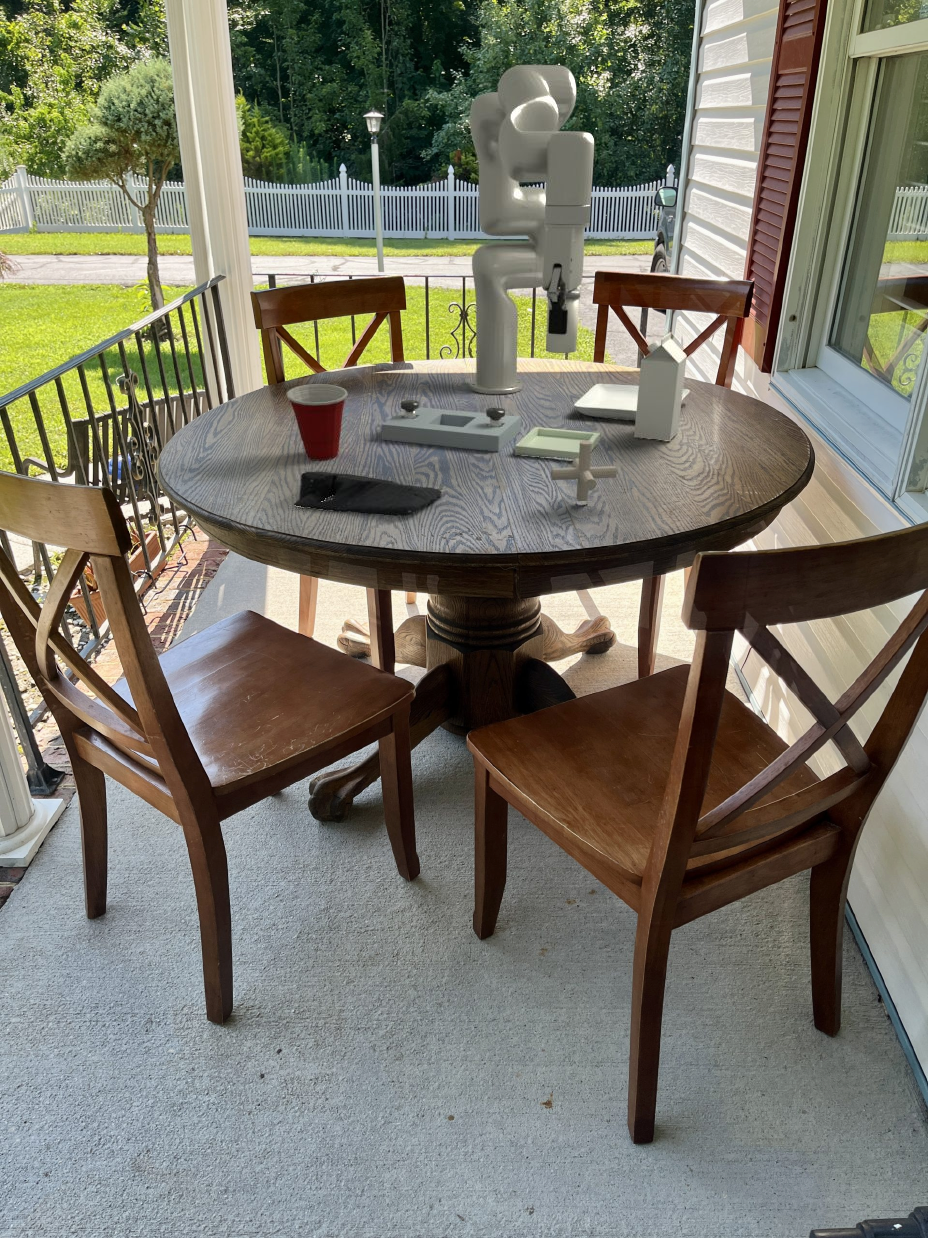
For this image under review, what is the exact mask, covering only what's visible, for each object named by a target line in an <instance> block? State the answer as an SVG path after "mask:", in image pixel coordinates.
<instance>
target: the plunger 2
mask: <svg viewBox="0 0 928 1238" xmlns="http://www.w3.org/2000/svg"><path fill="white" fill-rule="evenodd" d="M485 411H486V412H485V413H486V416H487V417H490V426H491V427H501V417H504V416H505V415H506V409H505V408H502V407H490V408H487V409H486V410H485Z"/></svg>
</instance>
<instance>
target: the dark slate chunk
mask: <svg viewBox="0 0 928 1238" xmlns="http://www.w3.org/2000/svg"><path fill="white" fill-rule="evenodd" d="M442 493H443V491H441V490H440V489H438V488H434V487H427V486H426V487H425V486H418V485H410V484H403V483H399V482H398V483H397V482H394V481H392V480H388V479H387V480H386V479H382V478H377V477H376V478H374V477H369V476H363V475H358V474H351V473H341V472H340V473H337V472H329V471H319V470H316V471H315V470H314V471H305V472H303V473H301V475H300V489H299V499H298V500H296V501H295V502H296V503H295V502H294V503H293V504H294V505H296V506H301V507H310V508H309V509H312V508H316V509H315V510H317V509H323V510H322V511H324V510H333V511H332V512H334V511H341V512H342V513H358V514H367V515H379V516H380V515H381V516H386V515H388V516H394V517H395V516H396V517H397V516H408V515H412V514H414V513H415V512H416V511H418V510H419V511H420V510H421V509H423V508H424V507H426V506H427V505H429V504H432V503H434V502H435V501H437V500H439V499H440V498H441V496H442ZM332 495H334V496H332ZM330 496H331V497H333V498H332V499H329V498H328V497H330ZM331 497H330V498H331ZM325 498H328V500H326V501H324V500H325ZM438 498H439V499H438ZM321 501H323V502H321ZM294 505H293V506H294ZM296 506H295V507H296ZM349 511H350V512H349ZM341 512H340V513H341Z"/></svg>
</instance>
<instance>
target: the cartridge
mask: <svg viewBox="0 0 928 1238" xmlns="http://www.w3.org/2000/svg"><path fill="white" fill-rule="evenodd" d="M559 290H565V289H562V288H559ZM581 292H582V291H581V290H580V289H578V288H577V289H573V290H571V291H569V292H568V297H567V305H566V310H568V320H567V333H566V334H565V335H562V334H550V333H549V332H548V325H549V303H550V300H549V298H550V295H549V290H548V291H546V298H547V306H546V307H547V310H546V338H545V351H546V352H548V353H554V354H570V353H574V352H576V351H577V342H578V340H577V339H578V325H579V306H580V305H579V304H580V298H581ZM559 295H560V294H559ZM561 297H562V300H563V295H561Z"/></svg>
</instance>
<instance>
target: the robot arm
mask: <svg viewBox="0 0 928 1238" xmlns="http://www.w3.org/2000/svg"><path fill="white" fill-rule="evenodd" d="M576 100H577V84H576V80H575V77H574V75H573V73H572V71H571V70H570V69H569V68H568V67H566V66H564V65H560V64H559V65H557V64H555V65H554V64H551V65H550V64H546V65H545V64H521V65H520V64H519V65H516V66H511V67H510V68H508V69H507V70H506V71H504V73H503V74H502V75H501V77H500V79H499V82H498V84H497V91H495V92H494V91H493V92H492V91H491V92H486V93H483V94H479V95H477V96H476V97H475V98H474V99H473V101H472V103H471V106H470V111H469V127H470V134H471V138H472V141H473V146H474V150H475V153H476V156H477V161H478V219H479V220H478V221H479V222H478V223H479V226H480V229H481V231H482V232H483V234H484V235H487V236H491V237H520V236H521V237H528V242H526V241H525V242H511V241H510V242H492V243H491V242H490V243H487V244H486V243H485V244H483V245H481V246H479V247H478V248H476V250H475V251H474V252H473V255H472V258H471V268H472V271H471V272H472V277H473V284H474V293H475V316H476V318H475V319H476V322H475V330H476V331H475V342H476V343H475V348H476V350H475V351H476V353H475V355H476V360H475V361H476V363H475V364H476V365H475V366H476V368H475V369H476V373H475V374H476V377H475V378H476V379H474V380H472V381H470V382H469V389H470V390H471V391H473V392H475V393H479V394H486V395H505V394H506V395H507V394H513V393H517V392H519V391H521V390H523V388H524V383H523V381H521V380H519V379H517V375H518V374H517V371H518V366H517V363H518V362H517V361H518V329H519V327H518V326H519V325H518V324H519V323H518V322H519V320H518V319H519V313H518V311H519V310H518V307H517V305H516V303H515V302H514V300H513V299H512V298H511V296H510V295H509V294H508V291H509V290H517V289H518V290H520V289H538V288H541V289H542V290H543V291H544V292H547V291H548V290H549V295H550V298H549V300H550V303H549V325H548V332H549V333H550V334H562V335H565V334H566V333H567V320H568V310H566V305H567V297H568V292H569V291H571V290H573V289H578V287H579V286H580V285H581V284H582V281H583V273H584V255H585V254H584V253H585V251H584V249H585V228H589V227H590V225H591V209H592V208H591V204H592V192H593V191H592V188H593V186H592V185H593V173H594V171H593V168H594V158H595V157H594V156H595V154H594V153H595V139H594V137H593V135H592V134H591V133H589V132H587V131H571V130H570V131H569V130H568V131H567V130H566V131H564V130H563V131H562V130H561V128H562V127H563V125H565V123H566V122H567V120H568V119H569V118H570V116H571V115H572V113H573V110H574V108H575V105H576ZM560 130H561V131H560ZM520 183H545V188H542V187H539V186H538V187H537V186H520ZM559 288H562V289H565V290H559ZM559 294H560V295H559ZM561 295H563V300H562V297H561Z"/></svg>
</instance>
